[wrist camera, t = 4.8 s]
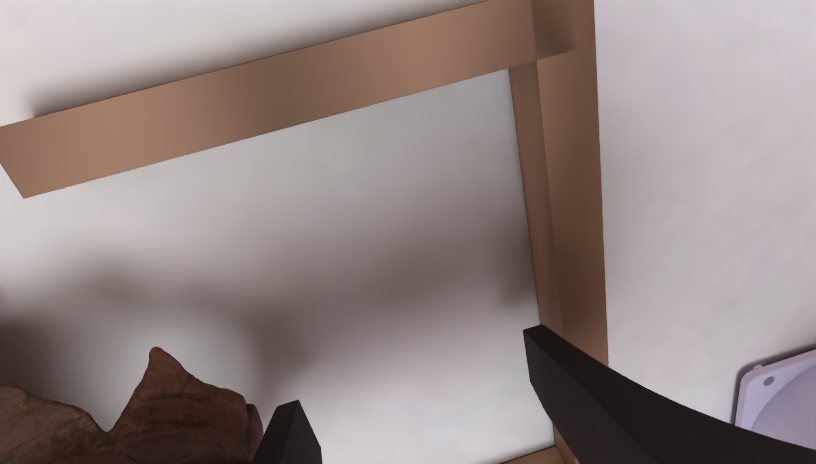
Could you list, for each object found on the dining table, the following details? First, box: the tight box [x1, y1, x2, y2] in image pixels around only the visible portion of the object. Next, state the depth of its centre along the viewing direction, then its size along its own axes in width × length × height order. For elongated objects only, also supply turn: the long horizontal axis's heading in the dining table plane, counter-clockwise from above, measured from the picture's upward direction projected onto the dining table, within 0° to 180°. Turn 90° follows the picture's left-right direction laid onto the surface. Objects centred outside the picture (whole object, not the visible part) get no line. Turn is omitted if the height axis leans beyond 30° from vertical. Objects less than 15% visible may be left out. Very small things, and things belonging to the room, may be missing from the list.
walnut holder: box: [0, 0, 608, 464], centre depth 14 cm, size 14×19×2 cm
